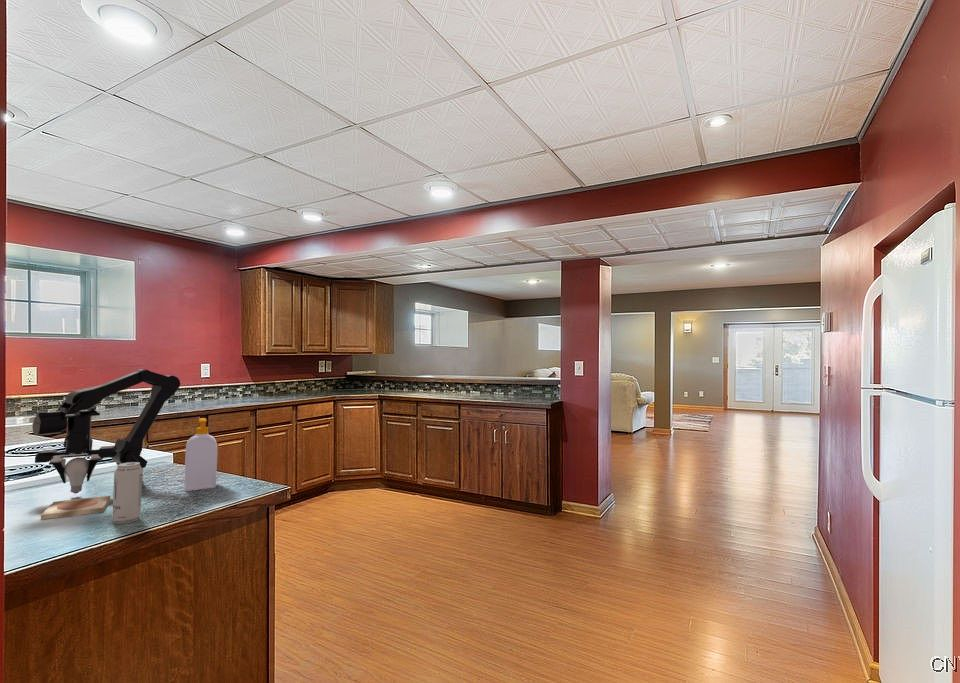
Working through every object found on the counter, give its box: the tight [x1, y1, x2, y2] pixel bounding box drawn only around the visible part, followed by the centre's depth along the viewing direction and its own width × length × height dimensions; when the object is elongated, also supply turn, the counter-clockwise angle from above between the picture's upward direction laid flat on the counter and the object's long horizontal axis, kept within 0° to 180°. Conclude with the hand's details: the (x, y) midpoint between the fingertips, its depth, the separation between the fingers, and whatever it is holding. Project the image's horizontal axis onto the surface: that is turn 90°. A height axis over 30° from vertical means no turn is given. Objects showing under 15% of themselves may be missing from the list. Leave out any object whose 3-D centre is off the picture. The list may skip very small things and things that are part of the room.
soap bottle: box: [183, 417, 219, 492], centre depth 158 cm, size 9×7×23 cm
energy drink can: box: [111, 462, 143, 525], centre depth 126 cm, size 6×6×15 cm
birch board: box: [40, 495, 111, 520], centre depth 134 cm, size 13×13×1 cm
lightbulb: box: [65, 457, 89, 495], centre depth 146 cm, size 6×6×11 cm
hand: (76, 481), depth 146 cm, fingers closed on lightbulb, 5 cm apart
